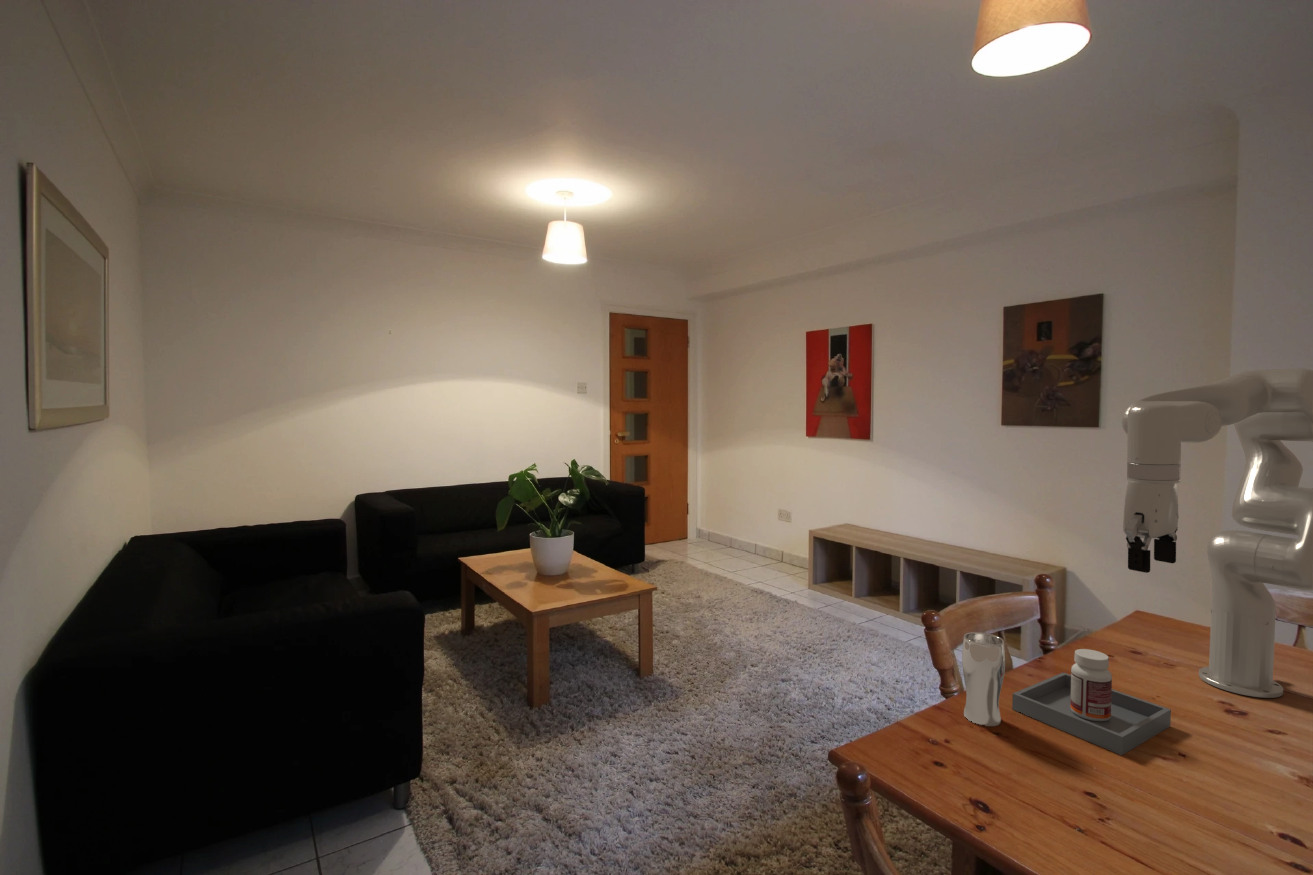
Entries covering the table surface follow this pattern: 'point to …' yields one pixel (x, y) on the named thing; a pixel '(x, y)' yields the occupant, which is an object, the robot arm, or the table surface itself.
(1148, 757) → the table surface
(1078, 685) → the pill bottle
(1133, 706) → the tray
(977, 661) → the beer glass
